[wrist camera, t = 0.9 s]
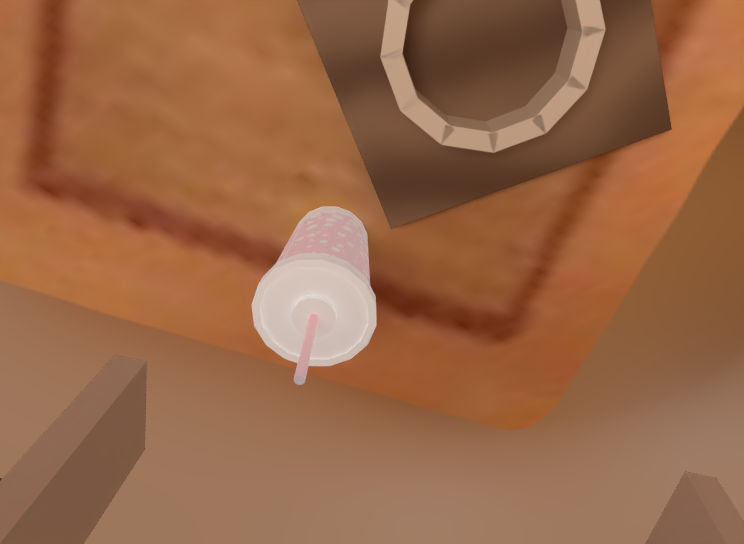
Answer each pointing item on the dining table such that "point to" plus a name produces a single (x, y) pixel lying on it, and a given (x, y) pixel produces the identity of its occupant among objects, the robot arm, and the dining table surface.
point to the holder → (483, 91)
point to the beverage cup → (318, 293)
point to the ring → (515, 125)
